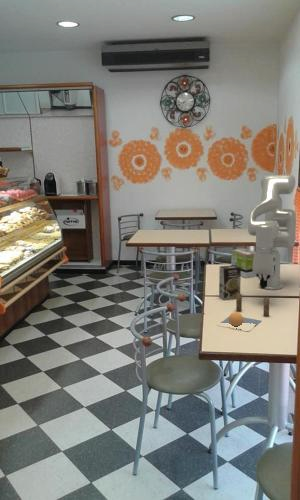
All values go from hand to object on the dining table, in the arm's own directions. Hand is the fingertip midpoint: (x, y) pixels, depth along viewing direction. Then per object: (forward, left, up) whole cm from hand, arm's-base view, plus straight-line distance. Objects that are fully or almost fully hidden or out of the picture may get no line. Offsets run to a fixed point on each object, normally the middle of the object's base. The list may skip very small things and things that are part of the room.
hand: (263, 287), depth 201 cm
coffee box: (-2, -18, -9) cm, 20 cm away
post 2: (+14, +7, -8) cm, 18 cm away
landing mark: (+28, 0, -8) cm, 29 cm away
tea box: (-47, -29, -9) cm, 56 cm away
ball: (+32, 0, -5) cm, 32 cm away
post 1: (+14, -6, -8) cm, 18 cm away
